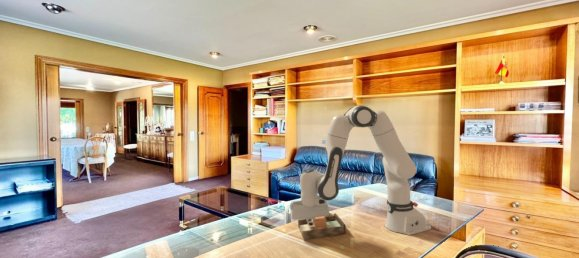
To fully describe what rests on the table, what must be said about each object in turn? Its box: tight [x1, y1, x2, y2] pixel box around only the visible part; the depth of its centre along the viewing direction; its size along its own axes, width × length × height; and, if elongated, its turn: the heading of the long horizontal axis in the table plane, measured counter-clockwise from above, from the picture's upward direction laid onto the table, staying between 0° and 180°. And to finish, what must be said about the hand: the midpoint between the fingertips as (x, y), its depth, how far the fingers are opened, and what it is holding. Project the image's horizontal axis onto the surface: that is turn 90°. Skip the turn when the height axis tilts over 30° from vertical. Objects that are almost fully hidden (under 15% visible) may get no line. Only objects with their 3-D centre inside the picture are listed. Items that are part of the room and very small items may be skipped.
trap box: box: [297, 213, 347, 240], centre depth 138 cm, size 22×15×5 cm
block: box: [313, 216, 327, 228], centre depth 138 cm, size 6×5×4 cm
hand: (310, 225), depth 137 cm, fingers closed
